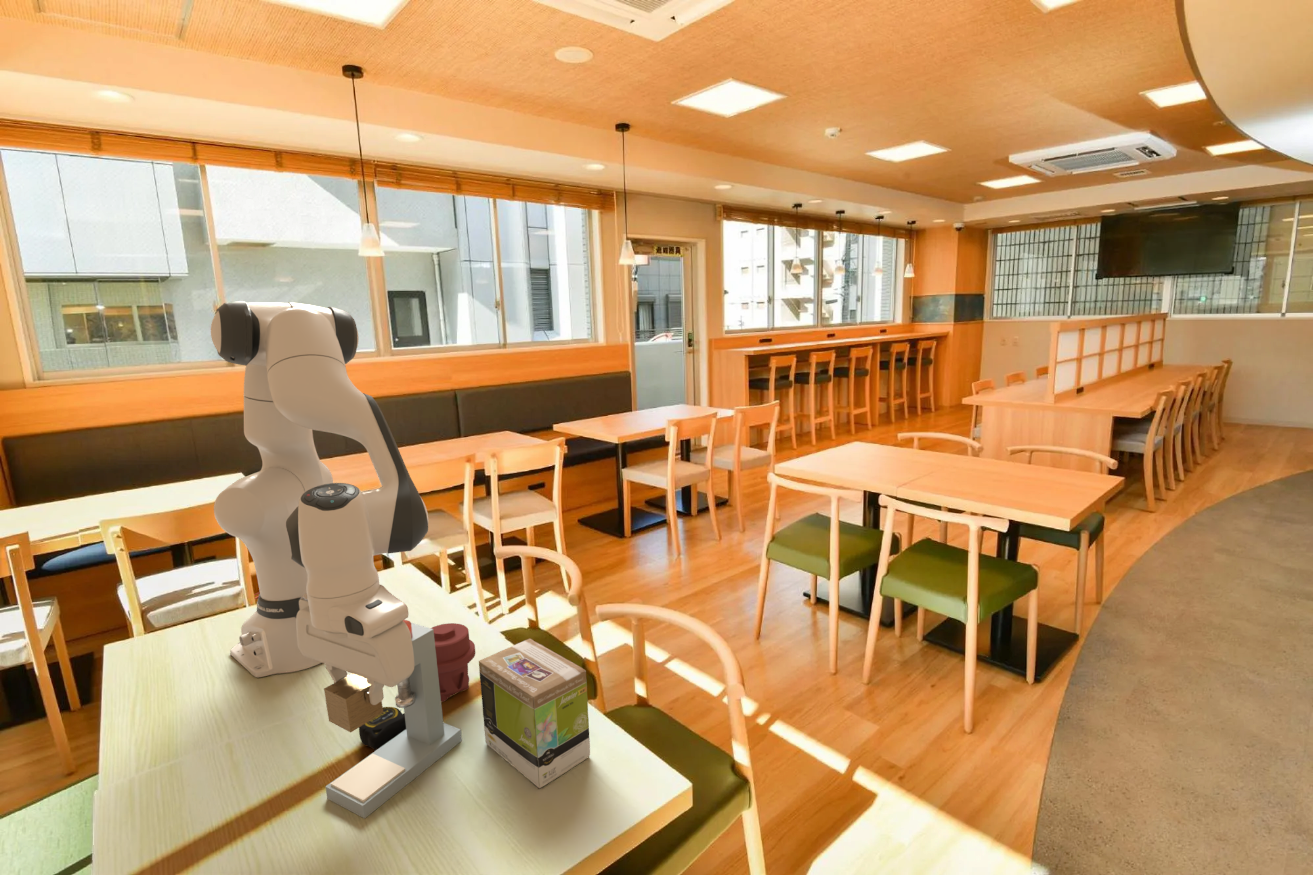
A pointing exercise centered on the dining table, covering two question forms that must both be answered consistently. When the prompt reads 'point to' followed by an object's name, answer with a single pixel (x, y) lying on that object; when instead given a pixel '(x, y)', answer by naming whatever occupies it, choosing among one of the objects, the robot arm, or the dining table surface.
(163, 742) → the dining table surface
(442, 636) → the mechanical component
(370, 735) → the tape measure
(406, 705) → the button
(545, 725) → the tea box
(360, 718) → the block
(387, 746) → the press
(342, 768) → the dining table surface
